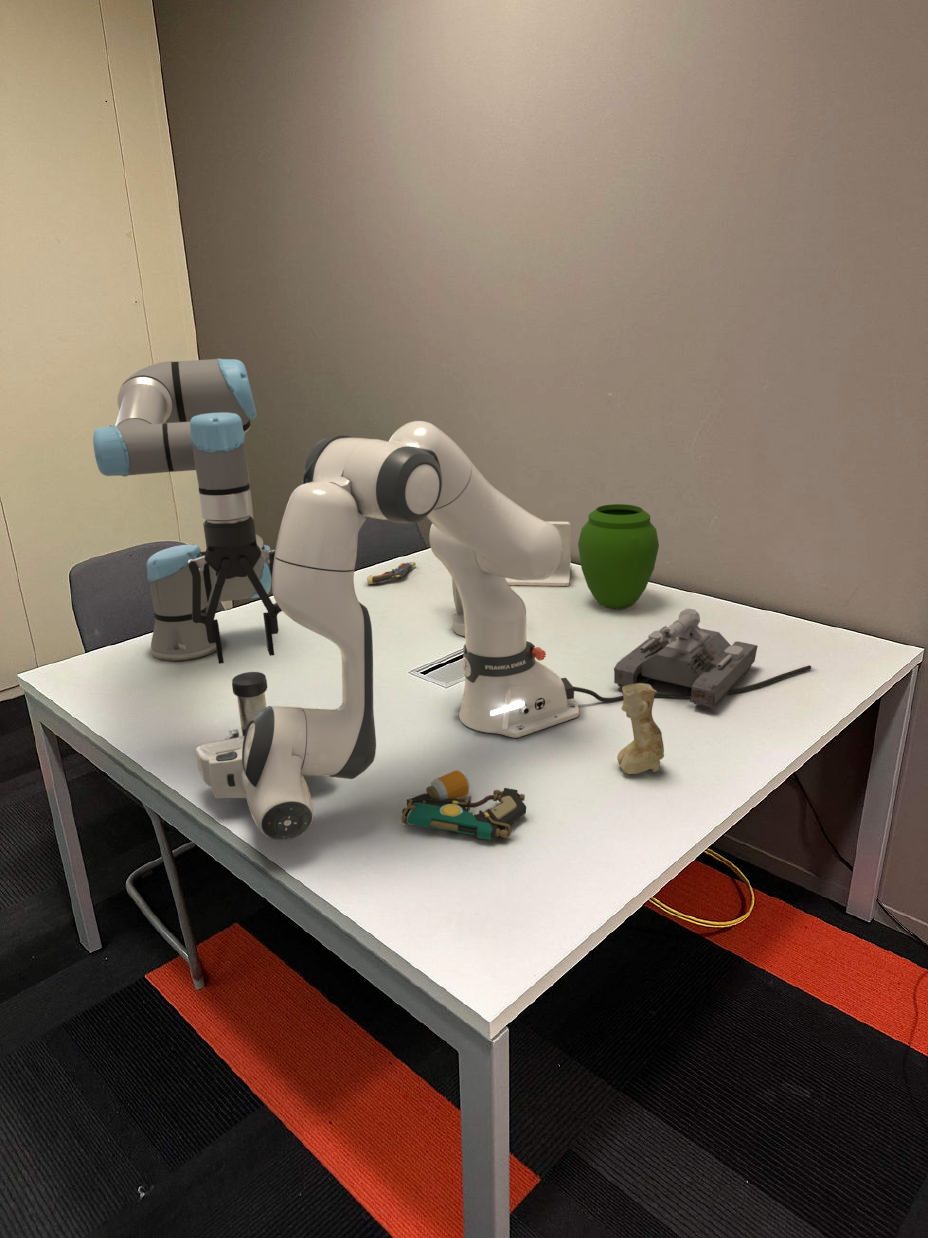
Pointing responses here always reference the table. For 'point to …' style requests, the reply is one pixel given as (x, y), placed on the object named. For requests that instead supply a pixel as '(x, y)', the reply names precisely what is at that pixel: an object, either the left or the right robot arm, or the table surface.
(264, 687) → the lid
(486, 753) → the table surface
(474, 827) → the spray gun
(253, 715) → the beige long cylinder
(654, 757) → the sculpture
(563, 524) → the tablet stand
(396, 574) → the toy gun
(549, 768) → the table surface
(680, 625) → the toy
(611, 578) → the vase
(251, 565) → the left robot arm
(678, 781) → the table surface
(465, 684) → the right robot arm
